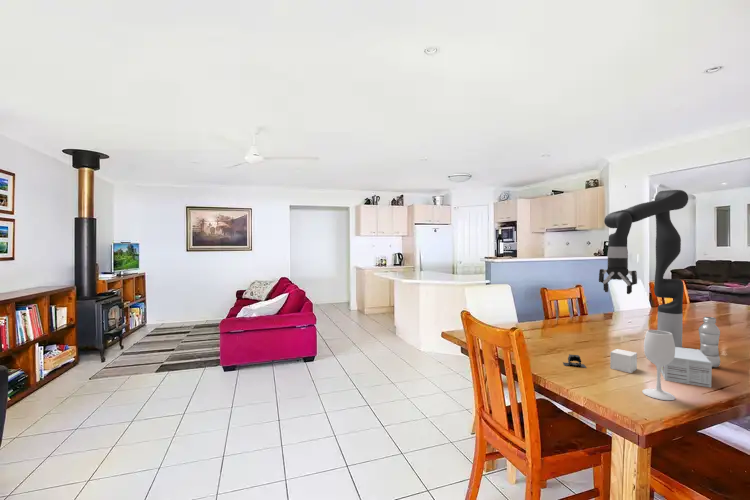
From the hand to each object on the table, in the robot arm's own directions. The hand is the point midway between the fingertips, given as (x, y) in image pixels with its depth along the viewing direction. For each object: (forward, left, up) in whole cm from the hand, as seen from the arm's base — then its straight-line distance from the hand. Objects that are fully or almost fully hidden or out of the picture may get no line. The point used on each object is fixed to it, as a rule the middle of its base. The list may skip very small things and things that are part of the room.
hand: (617, 292), depth 161 cm
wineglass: (+38, +24, -28) cm, 53 cm away
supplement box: (+10, +25, -29) cm, 39 cm away
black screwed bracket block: (+29, -6, -29) cm, 41 cm away
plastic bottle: (-12, +29, -28) cm, 42 cm away
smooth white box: (+18, +8, -28) cm, 34 cm away
